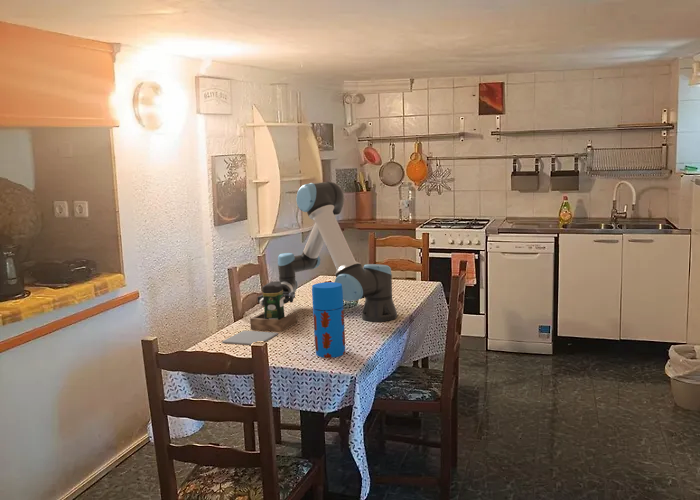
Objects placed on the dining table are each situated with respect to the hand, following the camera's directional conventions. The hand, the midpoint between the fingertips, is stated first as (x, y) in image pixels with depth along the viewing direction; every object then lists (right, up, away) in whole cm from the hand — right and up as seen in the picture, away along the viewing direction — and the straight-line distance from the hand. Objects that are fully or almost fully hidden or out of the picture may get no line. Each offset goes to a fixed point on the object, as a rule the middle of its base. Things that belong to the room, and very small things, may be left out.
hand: (270, 303), depth 277 cm
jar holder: (+1, -10, +6) cm, 12 cm away
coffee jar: (+1, -10, +6) cm, 12 cm away
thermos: (+26, -15, -36) cm, 47 cm away
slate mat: (-6, -13, -12) cm, 19 cm away
